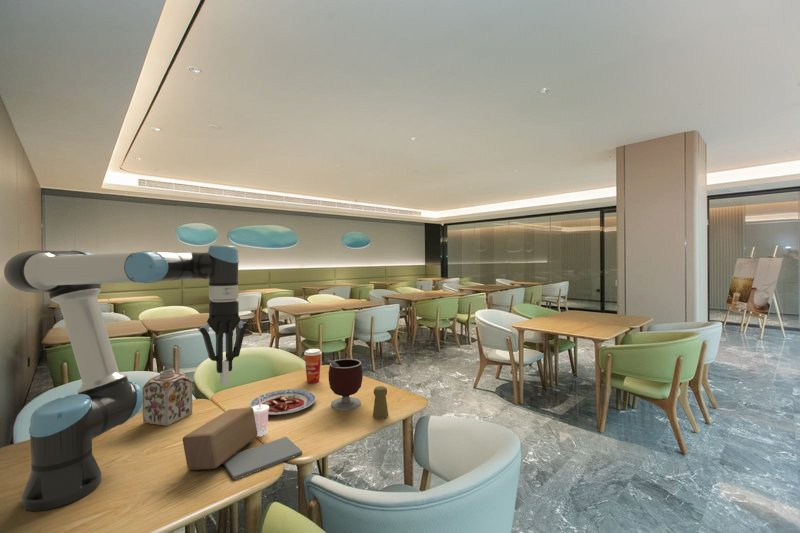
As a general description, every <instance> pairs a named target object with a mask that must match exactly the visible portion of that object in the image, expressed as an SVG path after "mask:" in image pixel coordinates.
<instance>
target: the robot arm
mask: <svg viewBox="0 0 800 533" xmlns="http://www.w3.org/2000/svg"><path fill="white" fill-rule="evenodd" d="M239 263H240V260H239V251H238V248H237V247H236V246H234V245H210V246H209V247H208V251H207V252H197V251H196V252H195V251H194V252H193V251H192V252H191V251H168V252H167V251H152V250H150V251H149V250H145V251H144V250H143V251H137V252H121V253H119V252H117V253H98V254H94V253H92V252H88V251H81V250H74V249H73V250H39V249H37V250H29V251H23V252H20V253H17V254H15V255H14V256H12V257H11V258H9V260H7V262H6V263H5V266H4V267H3V277H4V278H5V281H6V282H7V283H8V284H9V285H10V286H11V287H12V288H14V289H15V290H17V291H21V292H25V293H31V294H32V293H34V294H35V293H36V294H38V293H39V294H40V293H48V296H49V300H50V301H51V302H53V303H56V304H58V305H59V308H60V311H61V314H62V318H63V321H64V325H65V327H66V331H67V335H68V339H69V341H70V346H71V350H72V352H73V355H74V358H75V359H74V360H75V362H76V365H77V369H78V372H79V376H80V379H81V382H82V384H81V386H80V387H79V389H78V390H77V394H71V395H65V396H64V397H58V398H55V399H53V400H51V401H48V402H45V403H44V404H42V405H41V406H39V407H37V408H36V409H35V410H34V411H33V413H32V414H31V417H30V422H29V423H30V424H29V429H28V433H29V435H30V436H29V437H30V438H29V439H30V465H31V467H30V468H31V471H30V474H29V476H28V480H27V481H26V485H25V486H24V489H23V490H24V491H23V493H22V496H21V500H22V501H21V502H22V503H21V504H22V508H23V509H24V510H26V511H30V512H40V511H47V510H52V509H56V508H59V507H62V506H63V507H64V506H65V505H68V504H71V503H74V502H76V501H78V500H80V499H82V498H84V497H86V496H87V495H89V494H90V493H92V492H93V491H94V490H95V489H97V488H98V487H99V485H100V484H101V483H102V471H101V468H100V467H99V463H97V460H96V459H95V456H94V455H93V439H94V438H96V437H99V436H100V435H103V434H105V433H106V432H108V431H110V430H113V429H114V428H116V427H118V426H120V425H124V424H125V423H126V422H127V421H129V420H130V419H132V418H134V417H135V416H136V415H137V413H139V410H140V409H141V407H142V406H143V405H142V403H143V395H142V389H141V387H140V385H139V384H136V382H135V381H132V380H129V379H128V375H127V374H125V373H123V372H120V371H119V368H118V364H117V361H116V357H115V353H114V350H113V346H112V344H111V340H110V337H109V334H108V330H107V327H106V322H105V321H104V320H105V319H104V317H103V313H102V309H101V305H100V304H99V303H100V302H99V299H98V296H99V295H100V294H101V292H102V287H101V286H103V284H105V285H106V284H128V283H132V284H133V283H140V284H142V283H143V284H150V283H151V284H152V283H154V284H155V283H158V282H170V281H171V282H172V281H181V280H204V279H205V280H208V299H209V300H210V301H209V302H208V319H207V321H206V323H204V324H203V325H202V326H198V331H199V332H200V334H201V335H202V338H203V341H204V345H205V348H206V352H207V356H208V358H209V360H211V361H212V362H216V372H217V373H218V374H219V376H220V377H219V380H220V383H221V385H222V386H225V385H229V383H230V381H229V378H230V377H229V374H230V373H229V372H231V371H232V370H233V361H234V358H237V357H239V356H240V354H241V353H240V352H241V348H242V344H243V340H244V337H245V332H246V330H247V329H248V327H249V323H248V322H246V321H243V320H241V317H240V315H239V313H240V312H239V311H240V310H239V309H240V308H239V307H240V306H239V305H240V304H239V301H238V299H239ZM237 327H238V329H237V333H236V336H235V340H233V336H234V331H235V329H236V328H237ZM210 328H211V330H212V331H213V332H214V333H215V336H214V337H215V350H214V347H213V343H212V340H211V336H210V334H209V332H210ZM224 335H225V358H224ZM233 342H234V343H233Z"/></svg>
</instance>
